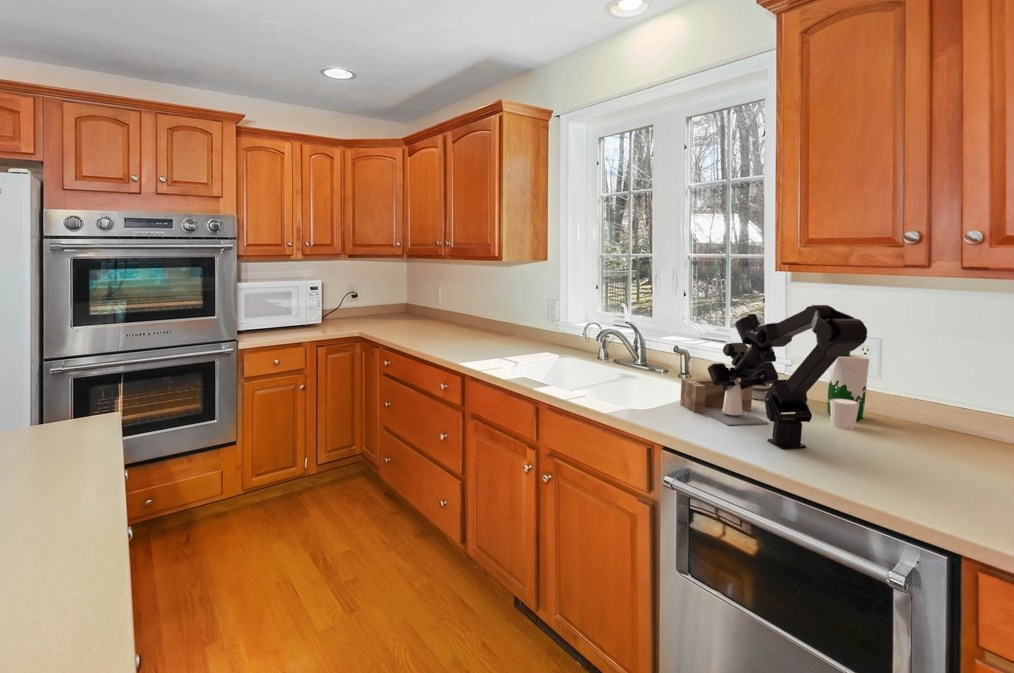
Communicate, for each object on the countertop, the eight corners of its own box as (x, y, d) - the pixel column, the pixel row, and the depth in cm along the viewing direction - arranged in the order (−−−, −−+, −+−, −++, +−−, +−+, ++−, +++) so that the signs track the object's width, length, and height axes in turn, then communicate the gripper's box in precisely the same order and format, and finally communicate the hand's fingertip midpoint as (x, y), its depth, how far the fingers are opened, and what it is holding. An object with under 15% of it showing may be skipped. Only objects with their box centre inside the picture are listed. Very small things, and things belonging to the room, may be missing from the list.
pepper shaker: (746, 414, 163) (748, 376, 161) (730, 416, 161) (732, 378, 160) (733, 410, 168) (735, 373, 167) (718, 411, 166) (719, 374, 165)
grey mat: (768, 424, 157) (768, 422, 157) (728, 425, 155) (728, 424, 155) (744, 412, 169) (744, 410, 169) (706, 413, 167) (706, 412, 167)
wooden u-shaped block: (751, 410, 171) (752, 384, 170) (694, 412, 168) (696, 386, 167) (734, 402, 180) (735, 377, 179) (680, 404, 177) (681, 379, 176)
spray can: (748, 399, 184) (752, 338, 181) (745, 394, 190) (749, 335, 187) (770, 401, 182) (774, 339, 179) (767, 396, 188) (771, 336, 185)
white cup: (849, 422, 159) (851, 398, 158) (862, 430, 152) (864, 404, 151) (823, 422, 159) (825, 397, 158) (835, 429, 152) (837, 404, 151)
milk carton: (823, 411, 170) (828, 345, 167) (857, 414, 167) (863, 346, 164) (831, 419, 161) (837, 350, 159) (867, 422, 159) (874, 351, 156)
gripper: (774, 333, 159) (750, 365, 171) (712, 335, 156) (692, 367, 169) (791, 366, 152) (764, 397, 165) (726, 368, 150) (703, 399, 162)
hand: (730, 389), depth 165 cm, fingers closed on pepper shaker, 4 cm apart
